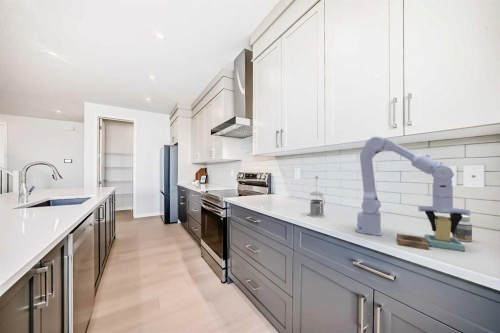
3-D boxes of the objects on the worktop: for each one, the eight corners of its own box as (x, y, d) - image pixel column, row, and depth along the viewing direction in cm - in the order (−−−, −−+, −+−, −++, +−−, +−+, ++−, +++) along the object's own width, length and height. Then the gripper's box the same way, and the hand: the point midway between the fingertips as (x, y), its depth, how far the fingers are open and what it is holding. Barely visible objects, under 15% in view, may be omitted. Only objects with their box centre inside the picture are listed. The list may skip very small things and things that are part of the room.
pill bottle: (451, 236, 89) (451, 213, 89) (470, 239, 85) (470, 215, 85) (453, 240, 84) (452, 215, 85) (473, 243, 81) (473, 218, 81)
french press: (305, 215, 130) (305, 176, 130) (317, 213, 136) (317, 175, 136) (318, 218, 121) (317, 176, 122) (330, 216, 128) (330, 176, 128)
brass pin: (433, 239, 79) (435, 217, 79) (431, 236, 83) (433, 214, 83) (451, 243, 76) (453, 219, 76) (448, 239, 80) (450, 217, 80)
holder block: (398, 244, 79) (398, 239, 79) (397, 238, 87) (397, 233, 87) (429, 249, 74) (428, 244, 74) (424, 242, 82) (424, 237, 82)
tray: (429, 246, 78) (429, 240, 78) (424, 238, 86) (424, 234, 86) (464, 251, 73) (464, 246, 73) (456, 243, 81) (456, 238, 81)
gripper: (419, 196, 80) (420, 231, 80) (472, 199, 72) (473, 238, 72) (417, 194, 86) (417, 227, 86) (466, 197, 78) (466, 232, 78)
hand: (442, 231), depth 79 cm, fingers closed on brass pin, 5 cm apart
